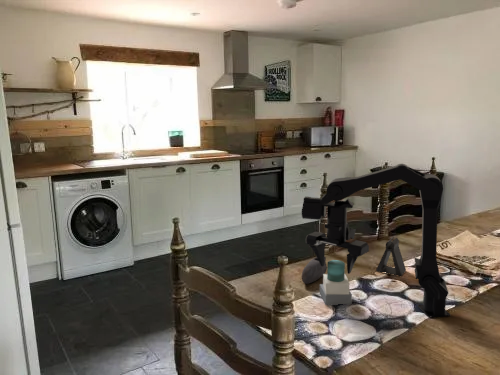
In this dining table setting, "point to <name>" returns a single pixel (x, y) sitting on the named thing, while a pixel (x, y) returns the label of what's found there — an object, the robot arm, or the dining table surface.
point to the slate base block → (335, 297)
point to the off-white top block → (336, 286)
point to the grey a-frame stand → (397, 259)
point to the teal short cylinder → (335, 270)
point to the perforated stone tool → (313, 271)
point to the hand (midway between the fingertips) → (335, 269)
